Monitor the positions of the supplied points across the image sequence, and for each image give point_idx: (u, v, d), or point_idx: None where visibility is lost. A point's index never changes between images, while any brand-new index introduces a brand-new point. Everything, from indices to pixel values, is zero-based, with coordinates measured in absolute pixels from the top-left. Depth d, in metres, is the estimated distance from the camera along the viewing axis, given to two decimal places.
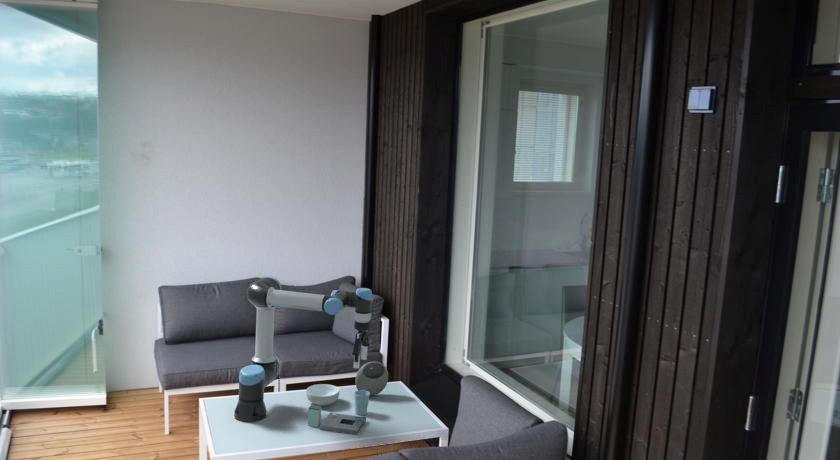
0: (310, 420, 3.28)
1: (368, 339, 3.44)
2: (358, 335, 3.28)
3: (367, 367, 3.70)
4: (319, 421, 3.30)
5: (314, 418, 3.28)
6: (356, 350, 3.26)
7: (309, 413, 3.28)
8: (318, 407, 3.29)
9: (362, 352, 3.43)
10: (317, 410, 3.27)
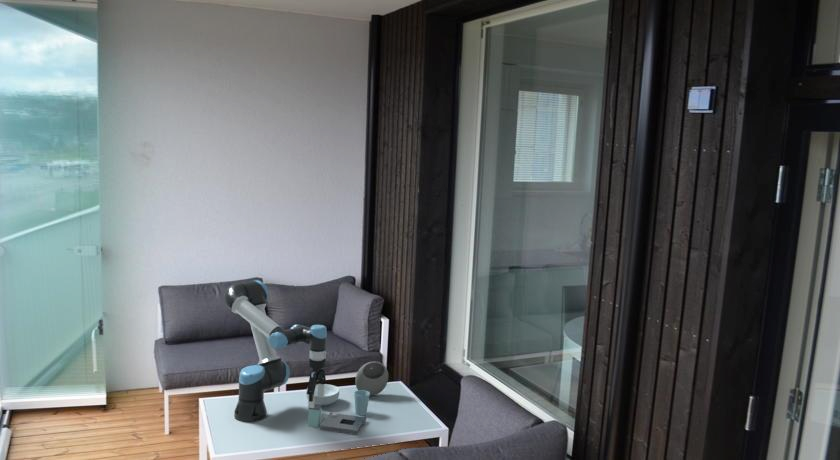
0: (310, 420, 3.28)
1: None
2: (312, 374, 3.20)
3: (367, 367, 3.70)
4: (319, 421, 3.30)
5: (314, 418, 3.28)
6: (310, 389, 3.18)
7: (309, 413, 3.28)
8: (318, 407, 3.29)
9: (319, 390, 3.35)
10: (317, 410, 3.27)
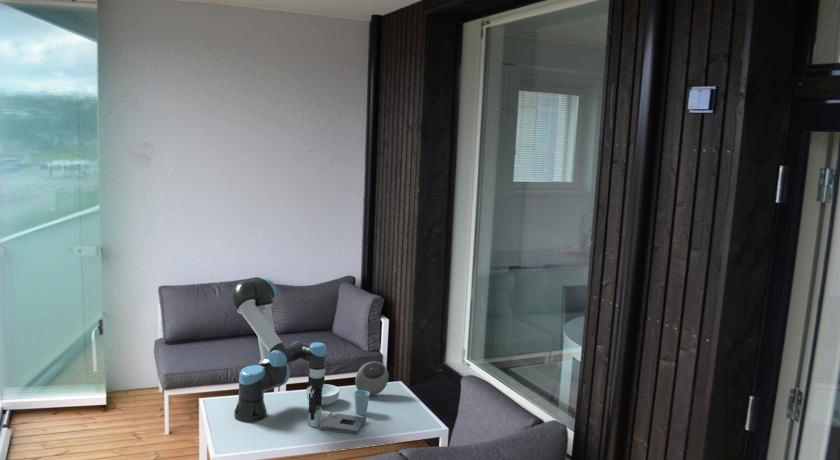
0: None
1: (321, 400, 3.34)
2: (311, 395, 3.22)
3: (367, 367, 3.70)
4: (319, 421, 3.30)
5: None
6: (311, 409, 3.23)
7: (309, 413, 3.28)
8: (318, 407, 3.29)
9: None
10: (317, 410, 3.27)
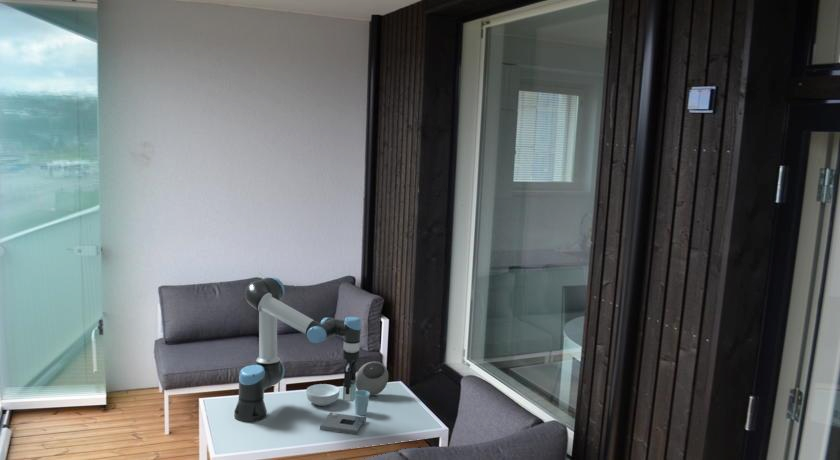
0: None
1: (355, 375, 3.34)
2: (347, 369, 3.21)
3: (367, 367, 3.70)
4: (354, 395, 3.29)
5: None
6: (347, 383, 3.23)
7: (344, 387, 3.27)
8: (353, 381, 3.28)
9: None
10: (352, 384, 3.27)
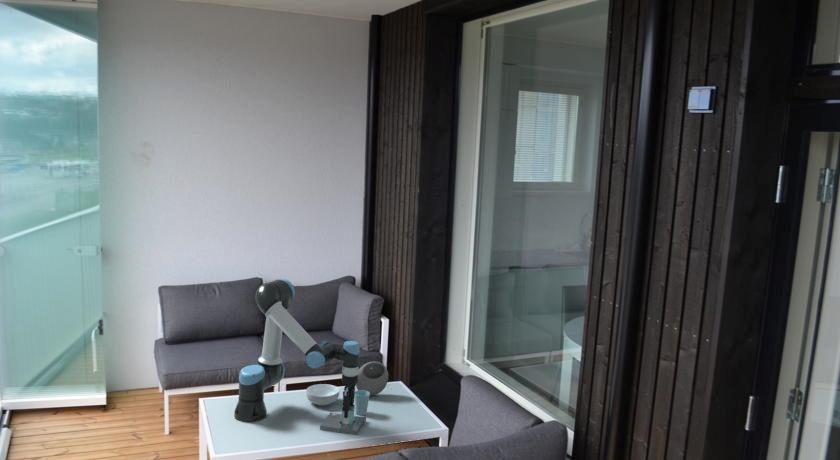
0: None
1: None
2: (345, 393, 3.23)
3: (367, 367, 3.70)
4: (352, 421, 3.31)
5: None
6: (345, 407, 3.25)
7: (342, 413, 3.29)
8: (351, 407, 3.30)
9: None
10: (350, 410, 3.28)
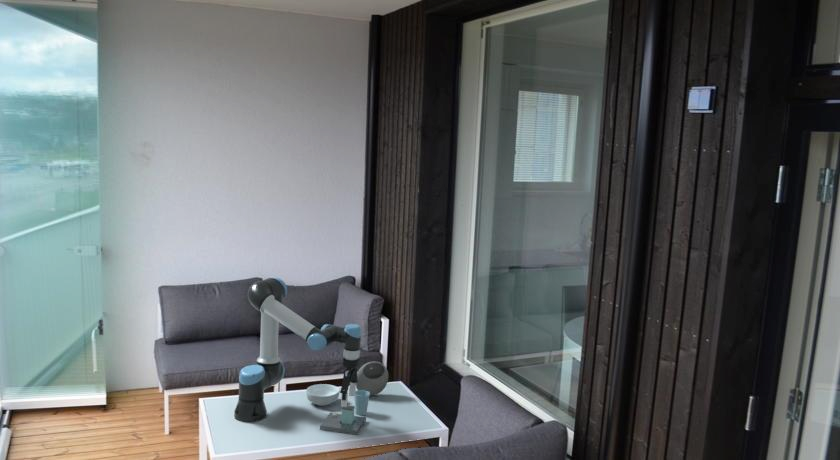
0: (343, 420, 3.30)
1: None
2: (346, 373, 3.21)
3: (367, 367, 3.70)
4: (352, 421, 3.31)
5: (347, 419, 3.29)
6: (344, 388, 3.20)
7: (342, 413, 3.29)
8: (351, 407, 3.30)
9: (350, 388, 3.36)
10: (350, 410, 3.28)
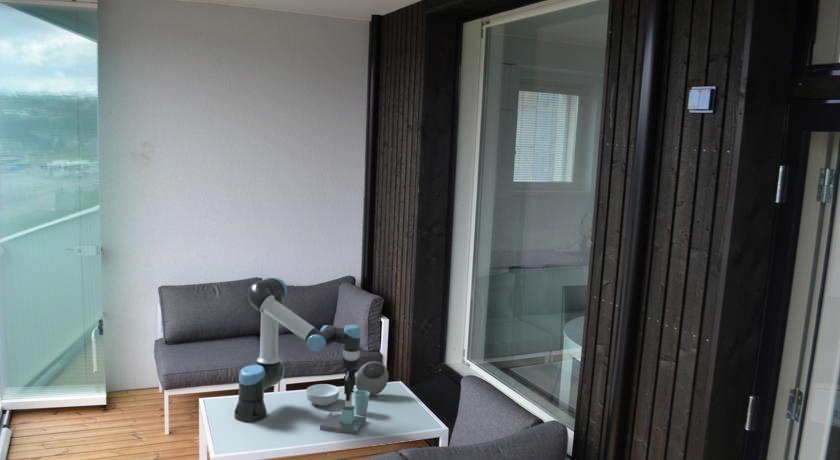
0: (343, 420, 3.30)
1: None
2: (346, 378, 3.22)
3: (367, 367, 3.70)
4: (352, 421, 3.31)
5: (347, 419, 3.29)
6: (347, 391, 3.25)
7: (342, 413, 3.29)
8: (351, 407, 3.30)
9: None
10: (350, 410, 3.28)
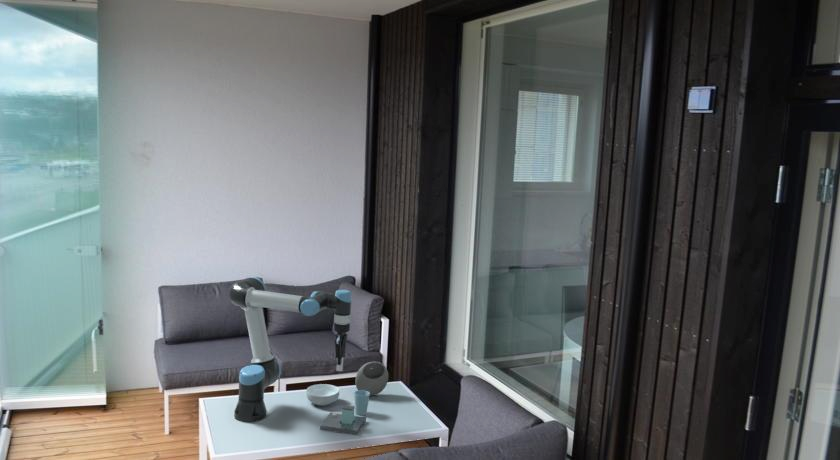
0: (343, 420, 3.30)
1: None
2: (337, 342, 3.27)
3: (367, 367, 3.70)
4: (352, 421, 3.31)
5: (347, 419, 3.29)
6: (338, 354, 3.30)
7: (342, 413, 3.29)
8: (351, 407, 3.30)
9: None
10: (350, 410, 3.28)
